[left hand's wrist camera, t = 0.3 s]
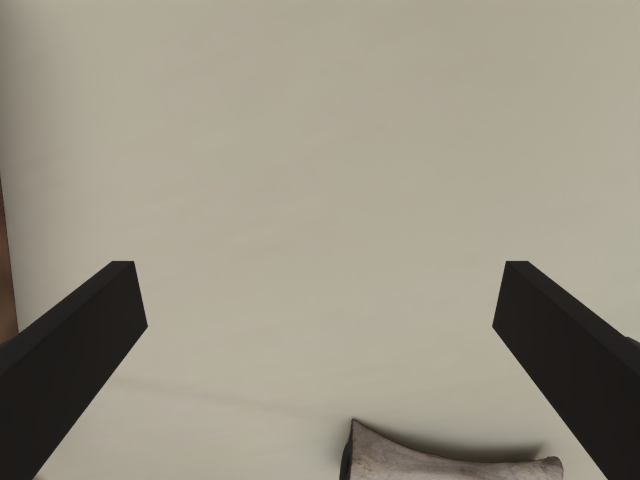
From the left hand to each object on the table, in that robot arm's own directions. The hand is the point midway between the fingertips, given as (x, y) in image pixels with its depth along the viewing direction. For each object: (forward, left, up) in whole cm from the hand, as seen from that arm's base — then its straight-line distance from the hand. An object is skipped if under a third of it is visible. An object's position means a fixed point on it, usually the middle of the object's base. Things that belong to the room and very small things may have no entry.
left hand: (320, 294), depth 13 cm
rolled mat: (+44, +18, -27) cm, 55 cm away
